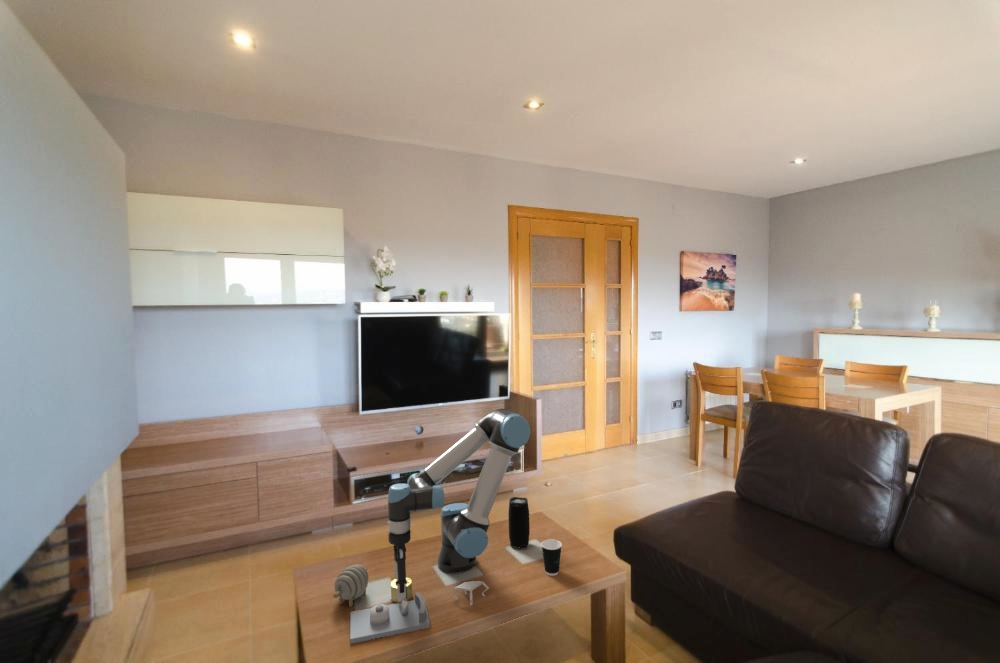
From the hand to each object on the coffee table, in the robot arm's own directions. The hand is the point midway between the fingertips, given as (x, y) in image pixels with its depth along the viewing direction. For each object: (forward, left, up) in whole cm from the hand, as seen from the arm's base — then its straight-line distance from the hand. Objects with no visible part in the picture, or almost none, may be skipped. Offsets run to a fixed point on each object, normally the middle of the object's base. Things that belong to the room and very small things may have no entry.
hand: (400, 589), depth 170 cm
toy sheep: (+17, -4, -3) cm, 17 cm away
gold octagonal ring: (0, 0, -3) cm, 3 cm away
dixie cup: (-56, +2, -3) cm, 56 cm away
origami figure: (-24, +9, -3) cm, 25 cm away
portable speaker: (-51, -22, -3) cm, 56 cm away
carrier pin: (0, +13, -1) cm, 13 cm away
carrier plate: (+5, +13, -3) cm, 14 cm away
